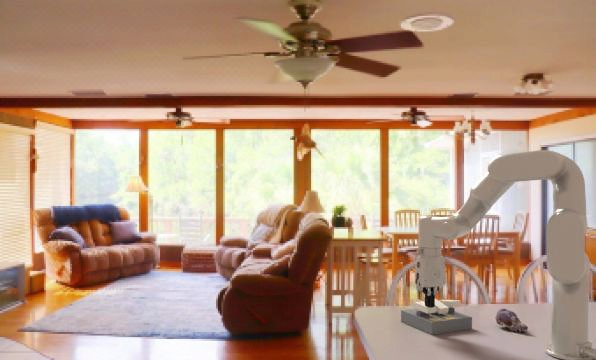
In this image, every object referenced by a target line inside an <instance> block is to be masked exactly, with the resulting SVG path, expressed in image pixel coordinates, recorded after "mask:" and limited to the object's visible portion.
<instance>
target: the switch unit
mask: <svg viewBox="0 0 596 360" xmlns="http://www.w3.org/2000/svg"><path fill="white" fill-rule="evenodd" d="M400 322H402V323H404V324H407V325H408V326H411V327H413V328H415V329H417V330H420V331H422V332H425V333H427V334H429V335H432V336H433V335H439V334H445V333H451V332H458V331H466V330H472V329H473V316H471V315H468V314H465V313H461V312H459V311H456V310H455V307H449V310H448V313H444V314H439V313H437V312H436V313H428V314H427V313H425V312H422V311H420V310H418V309H416V308H409V309H400Z"/></svg>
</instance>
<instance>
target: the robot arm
mask: <svg viewBox="0 0 596 360" xmlns="http://www.w3.org/2000/svg"><path fill="white" fill-rule="evenodd" d="M542 180H543V181H544V180H548V181H551V184H552V202H553V209H552V212H553V213H552V215H551V216H550V217H549V218H548V221H547V223H546V229H545V230H546V232H545V234H546V235H545V238H546V239H545V241H546V267H547V271H548V273H549V275H550V276H551V278H552V283H551V284H552V286H551V290H552V291H551V344H548V345H546V346H545V352H546V354H548V355H549V356H551V357H554V358H556V359H561V360H594V359H595V360H596V348H593V347H592V346H593V343H592V342H590V341H589V316H590V315H589V309H590V308H589V307H590V305H589V303H590V297H589V296H590V279H591V278H590V275H591V262H590V258H589V256H588V254H587V253H586V240H585V239H586V237H585V236H586V234H587V231H588V220H587V218H588V217H587V198H586V183H585V182H586V181H585V178H584V175H583V172H582V170H581V168H580V166H579V165H578V164H577V163H576V162H575V161H574V160H572V159H571V158H569V157H568V156H566V155H564V154H561V153H559V152H556V151H554V150H548V149H540V150H532V151H531V150H530V151H524V152H523V151H522V152H521V151H520V152H513V153H512V152H511V153H502V154H498V155H495V156H494V157H492V158H491V160H490V161H489V163H488V165H487V171H485V173H484V174H483V175H482V176H481V177H480V178H479V179H478V180H477V181H476V182H475V184H473V185H472V187H471V188H470V190H469V196H468V198H467V200H466V201H465V202H464V204H463V205H462V206H461V207H460V208H459V210H458V211H457V212H456V213H455V214H453V215H448V216H443V217H441V216H439V215H431V214H430V215H428V214H427V215H421V216H420V217H419V218H418V249H416V254H418V255H417V257H416V260H415V266H414V267H415V269H414V283H415V290H417V291H420V292H422V294H423V295H424V297H425V306H427V307H430V308H432V307H435V298H436V296H437V294H438V291H439V290H441V289H443V288H444V286H445V285H446V284H447V271H446V270H447V269H446V264H445V263H446V262H445V258H444V256H443V255H442V245H443V244H442V241H443V240H442V239H444V240H450V241H451V240H456V239H458V238H462V237H465V236H466V235H467V234H468V233H470V231H471V230H472V229H474V228H475V227H476V226H477V225H478V223H479V222H481V220H482V219H483V218H484V217H485V215H487V213H488V212H490V210H491V209H492V207H493V206H494V205H495V204H496V203H497V202H498V201H499V199H501V197H503V195H504V194H505V193H506V192H508V190H509V189H510V188H511V187H512V186H513V185H514V184H515V183H516V182H529V181H542Z"/></svg>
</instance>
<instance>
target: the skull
mask: <svg viewBox="0 0 596 360" xmlns="http://www.w3.org/2000/svg"><path fill="white" fill-rule="evenodd" d="M495 321H496V324H497V325H499V326H504V327H506V328H508V329H509V331H512V332H516V333H517V332H518V331H519V333H521V332H525V331H526V333H528V329H529V327H528V326H527V325H526V324H525V323H523V322H522V321H521V320H520V318H519V317H518V315H517V314H516V312H514V311H513V310H509V309H507V308H499V310H498V311H497V313H496V316H495Z"/></svg>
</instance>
